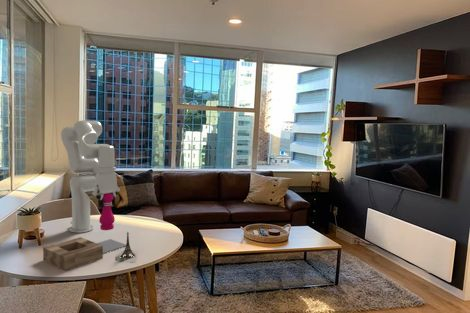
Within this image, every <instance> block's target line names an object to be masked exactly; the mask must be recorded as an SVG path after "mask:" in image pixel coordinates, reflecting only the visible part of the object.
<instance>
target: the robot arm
mask: <svg viewBox="0 0 470 313" xmlns="http://www.w3.org/2000/svg"><path fill="white" fill-rule="evenodd" d="M102 133H103V125H102V124H101V122H100V121H98V120H85V119H84V120H78V121H76V122H75V123H74V124H73V125H71V126H70V125H69V126H66V127H63V128H62V130H61V132H60V136H61V141H62V145H63V146H64V149H65V151H66V153H67V160H68V163H69V164H68V166H69V170H70V172H71V173H72V174H75V175H74V176H72V177H71V178H70V180H69V187H70V192H71V215H72V216H71V218H72V219H71V221H70V224H71V226H70V227H69V230H68V231H69V232H70V233H74V234H75V233H77V234H78V233H79V234H80V233H89V232H90V231H92V230H93V229H94V226H93V225H91V198H90V197H89V195H88V194H87V193H88V192H91V194H92V195H93V196H94V197H95V198H96V200H97V206H98V208H101V209H103V207H104V204H103V200H102V199H103V195H104V194H107V193H112V195H113V200H112V205H111V206H116V198H117V195H118V194H119V193H120V191H121V188H120V187H119V186H118V179H117V178H118V177H117V174H116V170H117V167H115V147H114V145H110V144H109V143H108V144H107V143H97V141H98V140H99V136H101V134H102ZM77 174H78V175H77ZM86 192H87V193H86Z"/></svg>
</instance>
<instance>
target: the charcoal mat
mask: <svg viewBox="0 0 470 313" xmlns="http://www.w3.org/2000/svg"><path fill="white" fill-rule="evenodd" d="M96 243H97V244H100V245H103V255H104V254H107V252H108V253H110V251H111V252H113V250H114V251H117V250H120V249H122V247H123V248H126V244H125V243H122V242H120V241H117V240H114V239H111V238H110V239H107V240H103V241H100V242H96ZM119 248H120V249H119ZM116 249H117V250H116Z"/></svg>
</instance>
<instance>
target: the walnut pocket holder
mask: <svg viewBox="0 0 470 313" xmlns="http://www.w3.org/2000/svg"><path fill="white" fill-rule="evenodd" d="M97 243H98V242H94V241H91V240H89V239H86V238H84V237H81V236H79V237H77V238H73V239H68V240H65V241H61V242H58V243H55V244H50V245H47V246H43V247H42V251H43V253H42V254H43V255H42V257H43V261H44V262H46V263H48V264H50V265H52V266H55V267H56V268H58V269H60V270H61V271H65V272H66V271H69V270H71V269H74V268H77V267H81V266H83V265H86V264H89V263H92V262H96V261H99V260H101V259H103V258H104V254H103V245H100V244H97Z"/></svg>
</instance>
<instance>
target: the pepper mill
mask: <svg viewBox="0 0 470 313" xmlns="http://www.w3.org/2000/svg"><path fill="white" fill-rule="evenodd" d="M102 200H103V204H104V207H103V208H102V210H101V214H100V215H99V220H98V221H99V224H100V226H99V228H100V230H101V231H110V230H114V228H115V227H114V226H115V225H114V223H115V220H116V218H115V216H114V213H113V210H112V206H113V205H112V200H113V195H112V193H107V194H104V195H103V199H102Z"/></svg>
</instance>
